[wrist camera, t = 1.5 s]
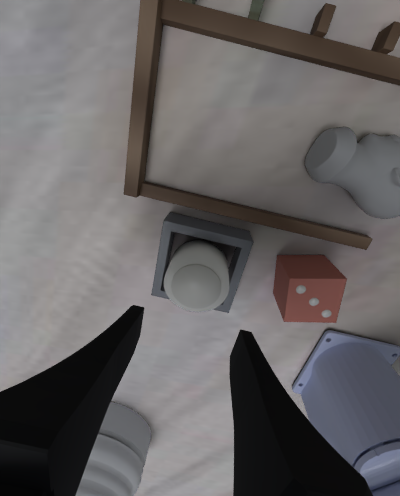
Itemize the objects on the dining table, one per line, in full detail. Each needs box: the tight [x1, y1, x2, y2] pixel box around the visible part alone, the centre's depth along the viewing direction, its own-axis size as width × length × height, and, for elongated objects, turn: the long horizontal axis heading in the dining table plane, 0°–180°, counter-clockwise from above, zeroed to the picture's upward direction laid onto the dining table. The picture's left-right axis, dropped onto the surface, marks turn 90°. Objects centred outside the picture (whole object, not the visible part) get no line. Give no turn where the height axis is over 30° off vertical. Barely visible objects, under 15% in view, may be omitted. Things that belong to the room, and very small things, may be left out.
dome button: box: [164, 240, 229, 312], centre depth 18 cm, size 5×5×3 cm
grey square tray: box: [151, 212, 253, 313], centre depth 20 cm, size 7×7×2 cm
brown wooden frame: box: [124, 0, 400, 250], centre depth 15 cm, size 13×20×3 cm, turn 77°
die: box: [273, 255, 347, 323], centre depth 19 cm, size 4×4×4 cm
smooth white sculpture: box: [305, 127, 400, 219], centre depth 16 cm, size 4×8×5 cm
